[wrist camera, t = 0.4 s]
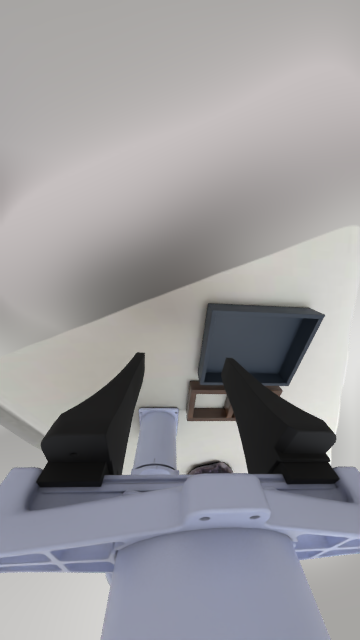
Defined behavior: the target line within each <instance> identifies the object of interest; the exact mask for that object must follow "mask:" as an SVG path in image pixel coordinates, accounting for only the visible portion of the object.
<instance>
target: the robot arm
mask: <svg viewBox="0 0 360 640" xmlns="http://www.w3.org/2000/svg"><path fill="white" fill-rule="evenodd" d="M144 371H145V353H139V352H137V353H136V354H135V356H134V357H133V358H132V359H131V361H130V362H129V363H128V364H127V365H126V366H125V368H124V369H123V370H122V371H121V372H120V373H119V374H118V375H117V376H116V377H115V378H114V379H113V380H112V381H110V382H109V383H108V384H107V385H106V386H104V387H103V388H102V389H101V390H99V391H98V392H97V393H95V394H94V395H92V396H91V397H89V398H88V399H86V400H85V401H83V402H82V403H80V404H79V405H77V406H75V407H73V408H72V409H70V410H68V411H66V412H64V413H63V414H61V415H60V416H59V418H58V419H57V420H56V421H55V422H54V424H53V425H52V427H51V428H50V430H49V431H48V432H47V434H46V435H45V437H44V438H43V440H42V442H41V448H42V451H43V453H44V455H45V457H46V459H47V460H48V463H47V464H46V466H45V468H44V469H43V470H42V469H40V468H35V467H28V468H13V469H11V471H10V472H9V473H8V475H7V476H6V477H5V479H4V480H3V482H2V483H1V485H0V573H7V572H78V573H80V572H83V573H106V578H107V581H108V583H109V585H110V592H109V597H108V602H107V608H106V614H105V618H104V624H103V629H102V635H101V640H331V639H330V636H329V634H328V631H327V629H326V626H325V624H324V621H323V619H322V616H321V614H320V611H319V609H318V606H317V604H316V601H315V599H314V596H313V594H312V591H311V589H310V586H309V584H308V582H307V579H306V576H305V574H304V571H303V569H302V567H301V564H300V562H299V560H306V559H314V558H322V557H330V556H339V555H348V554H359V553H360V472H359V471H358V470H357V469H356V468H355V467H335V468H332V467H331V466H330V464H329V463H328V462H330V459H329V457H328V456H327V455H326V452H327V451H328V450H329V449H330V448H331V447H332V446H333V445H334V443H335V442H336V435H335V434H334V432H333V431H332V430H331V429H330V428H329V427H328V426H327V424H326V423H325V422H324V421H323V420H321V419H319V418H317V417H315V416H313V415H311V414H309V413H307V412H305V411H303V410H301V409H300V408H298V407H296V406H294V405H292V404H291V403H289V402H287V401H286V400H284V399H283V398H281V397H279V396H278V395H276V394H275V393H274V392H272V391H271V390H269V389H268V388H267V387H265V386H264V385H263V384H261V383H260V382H259V381H258V380H257V379H255V378H254V377H253V376H252V375H251V374H250V373H249V372H247V371H246V370H245V369H244V368H243V367H242V366H241V365H240V364H239V363H238V362H237V361H236V360H235V359H233V358H226V359H225V363H224V366H223V370H222V373H221V377H222V381H223V385H224V388H225V391H226V393H227V396H228V399H229V401H230V404H231V407H232V409H233V412H234V415H235V418H236V422H237V426H238V429H239V433H240V437H241V441H242V445H243V450H244V454H245V459H246V464H247V469H248V474H247V473H211V474H197V475H179V470H177V468H176V435H177V424H178V412H179V409H178V408H140V409H139V420H140V432H139V438H138V443H137V449H136V454H135V460H134V465H133V469H132V471H131V475H122V470H123V464H124V458H125V453H126V448H127V442H128V437H129V432H130V427H131V422H132V417H133V413H134V409H135V405H136V402H137V399H138V396H139V392H140V389H141V386H142V382H143V377H144Z"/></svg>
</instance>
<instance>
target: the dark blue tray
mask: <svg viewBox="0 0 360 640" xmlns="http://www.w3.org/2000/svg"><path fill="white" fill-rule="evenodd" d="M324 316H325V315H324V314H321V313H319V312H317V311H315V310H313V309H310V308H300V307H278V306H256V305H233V304H211V303H208V308H207V314H206V321H205V328H204V335H203V341H202V348H201V355H200V362H199V368H198V376H199V381H200V385H223V381H222V377H221V373H222V370H223V366H224V363H225V359H226V358H233V359H235V360H236V361H237V362H238V363H239V364H240V365H241V366H242V367H243V368H244V369H245V370H246V371H247V372H249V373H250V374H251V375H252V376H253V377H254V378H255V379H257V380H258V381H259V382H260V383H261V384H263V385H264V386H289V384H290V382H291V380H292V378H293V376H294V374H295V372H296V370H297V368H298V366H299V365H300V363H301V361H302V359H303V357H304V355H305V353H306V351H307V349H308V347H309V345H310V343H311V341H312V339H313V337H314V336H315V334H316V332H317V330H318V328H319V326H320V324H321V322H322V320H323V318H324Z"/></svg>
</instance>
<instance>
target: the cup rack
mask: <svg viewBox="0 0 360 640" xmlns="http://www.w3.org/2000/svg"><path fill="white" fill-rule="evenodd" d="M265 387H267V388H268V389H269V390H271V391H272V392H274V393H275V394H276V395H278V396H279V397H280V395H281V393H282V389H281V388H280V387H279V386H265ZM196 394H227V393H226V391H225V388H224V385H200V381H190V386H189V395H188V403H187V411H186V413H187V421H236V418H235V415H234V412H233V409H232V407H231V404H230V401H229V399H228V396H227V399H226V402H225V406H224V408H194V405H195V399H196Z"/></svg>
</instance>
